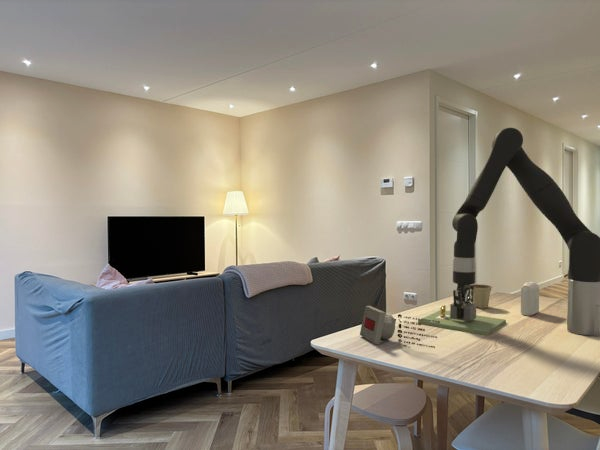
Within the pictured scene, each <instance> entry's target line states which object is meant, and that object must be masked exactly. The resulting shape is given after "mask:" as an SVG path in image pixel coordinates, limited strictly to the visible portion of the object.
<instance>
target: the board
mask: <svg viewBox="0 0 600 450" xmlns="http://www.w3.org/2000/svg"><path fill="white" fill-rule="evenodd" d="M420 319H427V320H431V322H430V321H429V322H428V321H421V320H418V319H417V324H418V323H421V325H426V326H432V327H436V328H442V329H450V330H455V331H461V332H466V333H473V334H478V335H483V336H489V335H491V334H492V333H494V332H495V331H497V330H498V329H499V328H500V327H502V326H504V325H505V324H506V323H507V319H505V318H496V317H491V316H484V315H479V314H478V315H477V314H476V319H474V320H472V321H464V320H458V319H451V318H450V310H446V316H444V317H443V318H441V317H440V310H437V311H435V312H433V313H430V314H429V315H426V316H424V317H421V318H420ZM432 320H434V322H433V321H432ZM437 320H438V321H440V323H437V322H436V321H437Z"/></svg>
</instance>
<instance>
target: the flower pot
mask: <svg viewBox="0 0 600 450" xmlns="http://www.w3.org/2000/svg"><path fill="white" fill-rule="evenodd" d="M470 286H474V294H473V302H471V304H476V308H479V309H487V308H489V304H490V296H491V291H492V289H493V286H492V285H488V284H480V283H479V284H477V283H476V284H475V283H474V284H470Z"/></svg>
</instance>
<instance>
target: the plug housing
mask: <svg viewBox="0 0 600 450" xmlns="http://www.w3.org/2000/svg"><path fill="white" fill-rule="evenodd" d="M449 306H450V310H449V311H450V318H451V319H458V318H457V308H456V307H454V302H453V303H450V305H449ZM476 315H477V307H476V304H472V303H471V304H470V303H464V318H463V319H458V320H464V321H472V320H474V319H476Z"/></svg>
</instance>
